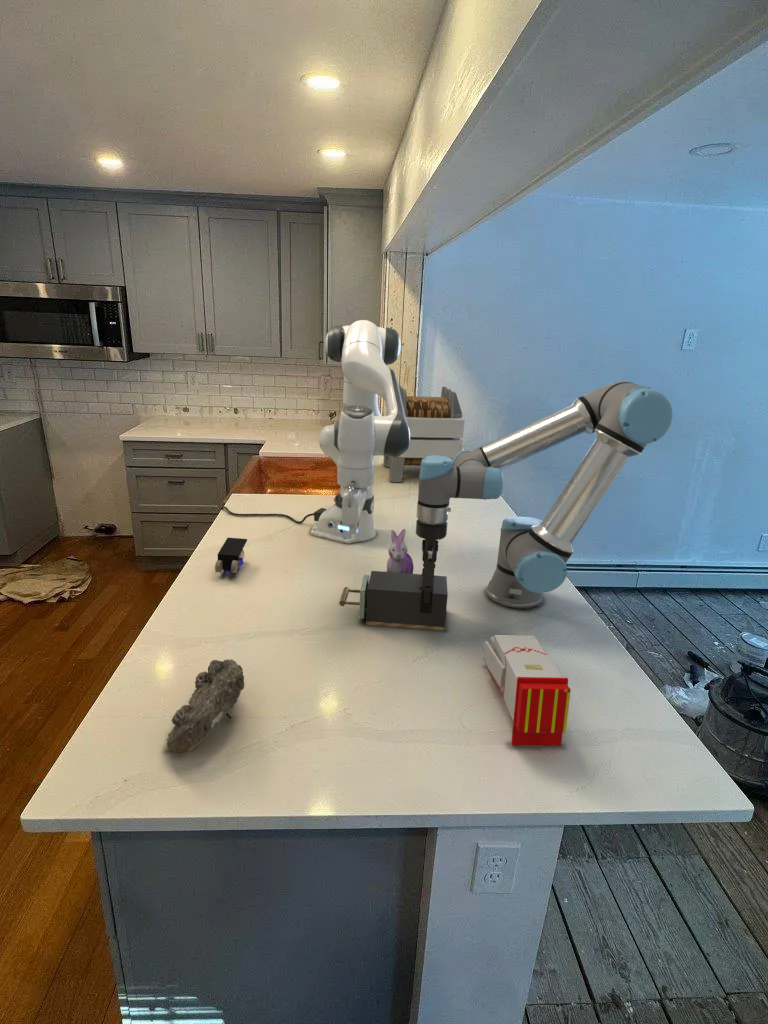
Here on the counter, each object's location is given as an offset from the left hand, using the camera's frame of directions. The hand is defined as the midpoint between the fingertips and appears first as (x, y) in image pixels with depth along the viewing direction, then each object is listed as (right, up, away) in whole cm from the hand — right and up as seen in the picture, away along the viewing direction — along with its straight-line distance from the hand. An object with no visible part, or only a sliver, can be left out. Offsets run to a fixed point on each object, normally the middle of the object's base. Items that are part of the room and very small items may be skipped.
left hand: (354, 530), depth 139 cm
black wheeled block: (-37, -13, +28) cm, 49 cm away
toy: (+35, -34, -22) cm, 54 cm away
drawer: (+8, -21, +7) cm, 24 cm away
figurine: (+12, -15, +28) cm, 34 cm away
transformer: (+25, +23, +136) cm, 140 cm away
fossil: (-25, -35, -31) cm, 53 cm away
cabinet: (+13, -23, +7) cm, 27 cm away
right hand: (+18, -18, +5) cm, 26 cm away
